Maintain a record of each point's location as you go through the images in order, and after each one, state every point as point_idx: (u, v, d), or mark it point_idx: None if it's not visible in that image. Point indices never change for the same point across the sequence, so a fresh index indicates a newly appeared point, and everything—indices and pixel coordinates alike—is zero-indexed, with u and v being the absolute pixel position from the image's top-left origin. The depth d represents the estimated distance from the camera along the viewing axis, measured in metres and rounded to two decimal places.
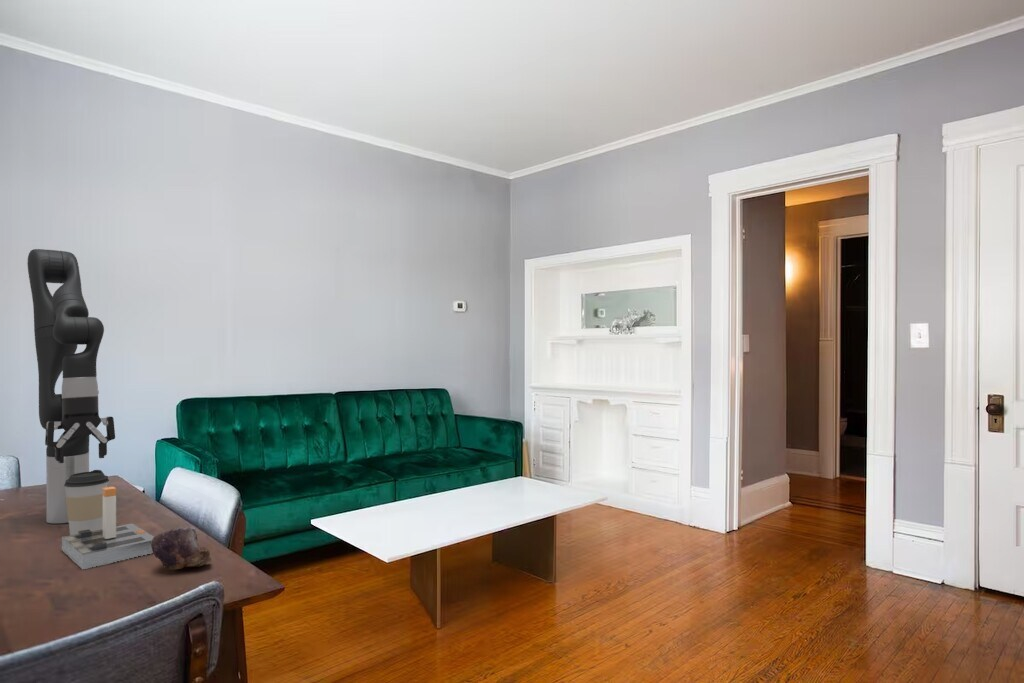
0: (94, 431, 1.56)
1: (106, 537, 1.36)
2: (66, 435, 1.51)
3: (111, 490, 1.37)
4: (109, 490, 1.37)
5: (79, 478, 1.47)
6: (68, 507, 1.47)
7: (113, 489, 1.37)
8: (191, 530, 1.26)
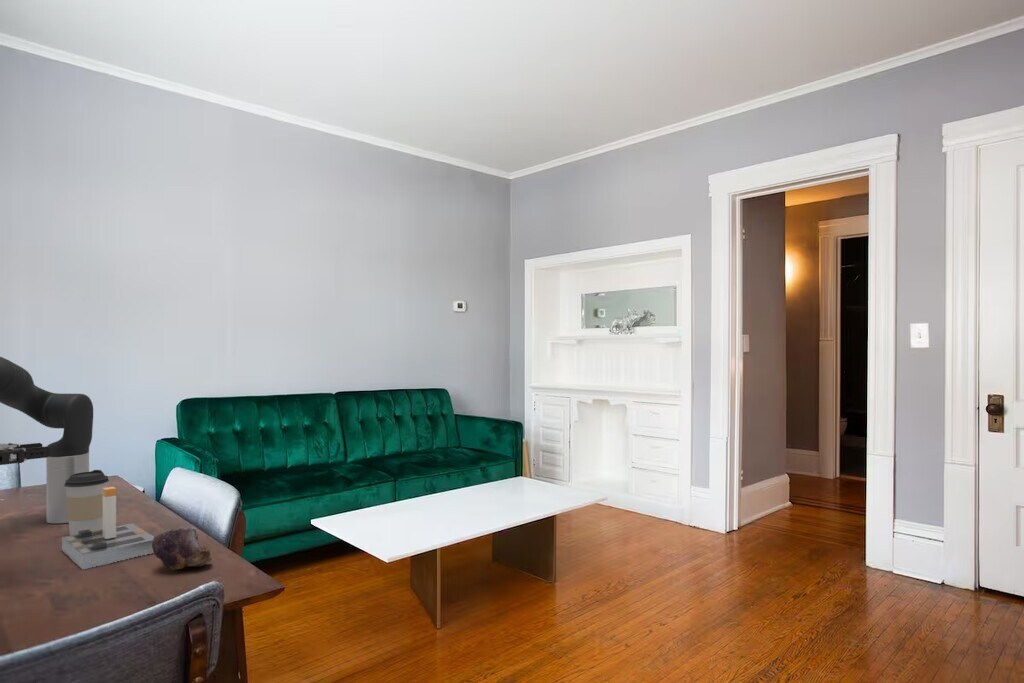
0: None
1: (106, 537, 1.36)
2: None
3: (111, 490, 1.37)
4: (109, 490, 1.37)
5: (79, 478, 1.47)
6: (68, 507, 1.47)
7: (113, 489, 1.37)
8: (192, 530, 1.26)
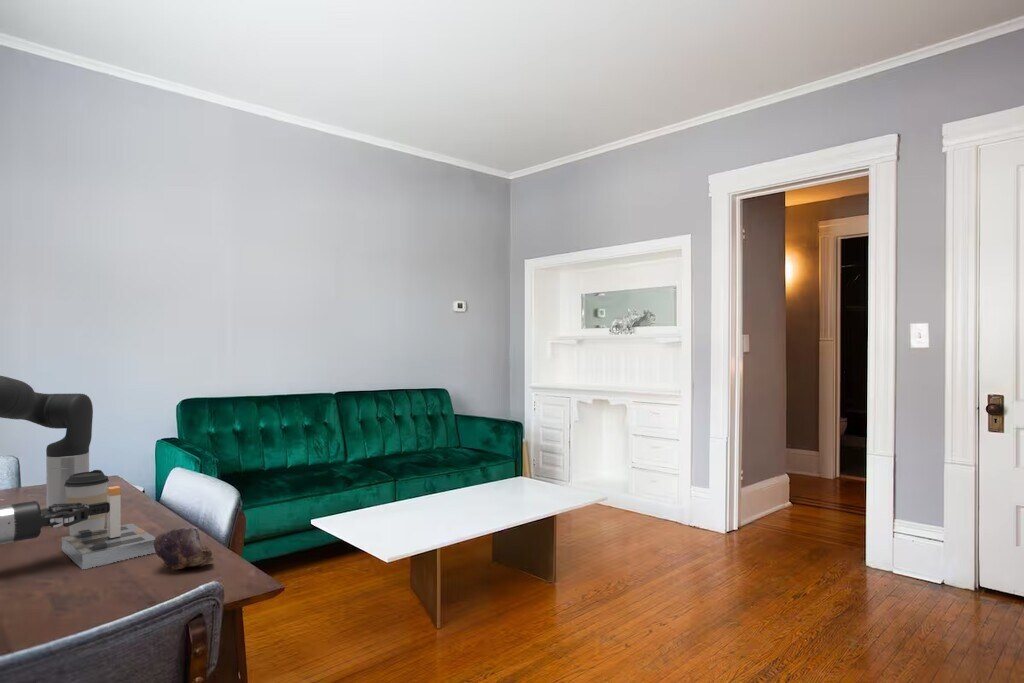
0: None
1: (111, 536, 1.37)
2: None
3: (115, 489, 1.38)
4: (114, 489, 1.37)
5: (79, 478, 1.47)
6: None
7: (117, 488, 1.38)
8: (193, 530, 1.26)
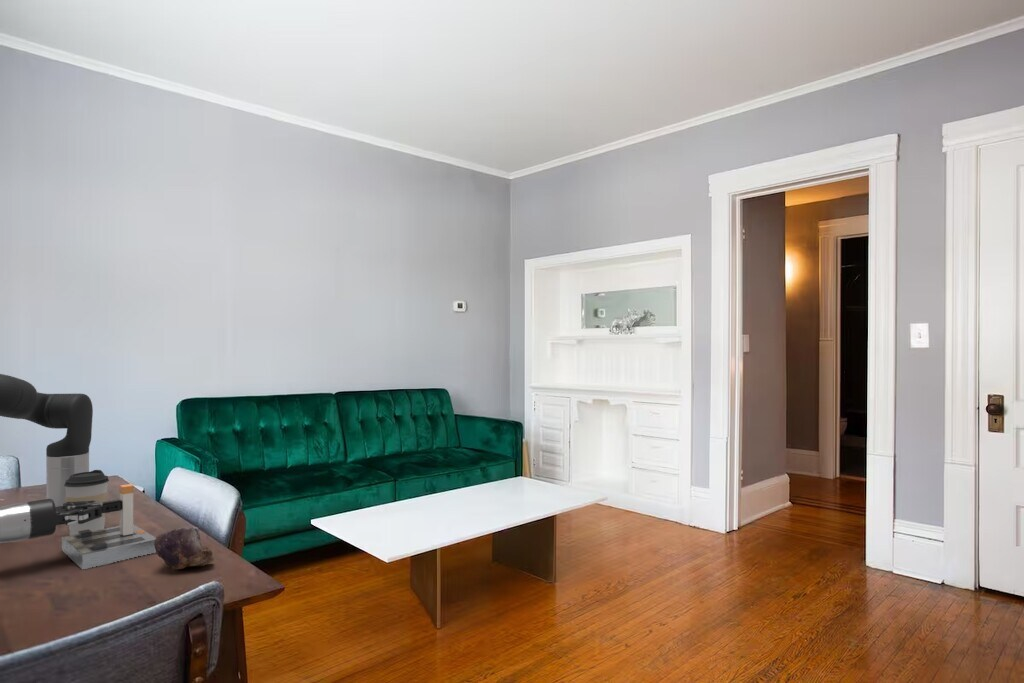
0: None
1: (123, 534, 1.39)
2: None
3: (128, 487, 1.39)
4: (126, 487, 1.39)
5: (79, 478, 1.47)
6: None
7: (130, 486, 1.40)
8: (194, 530, 1.26)
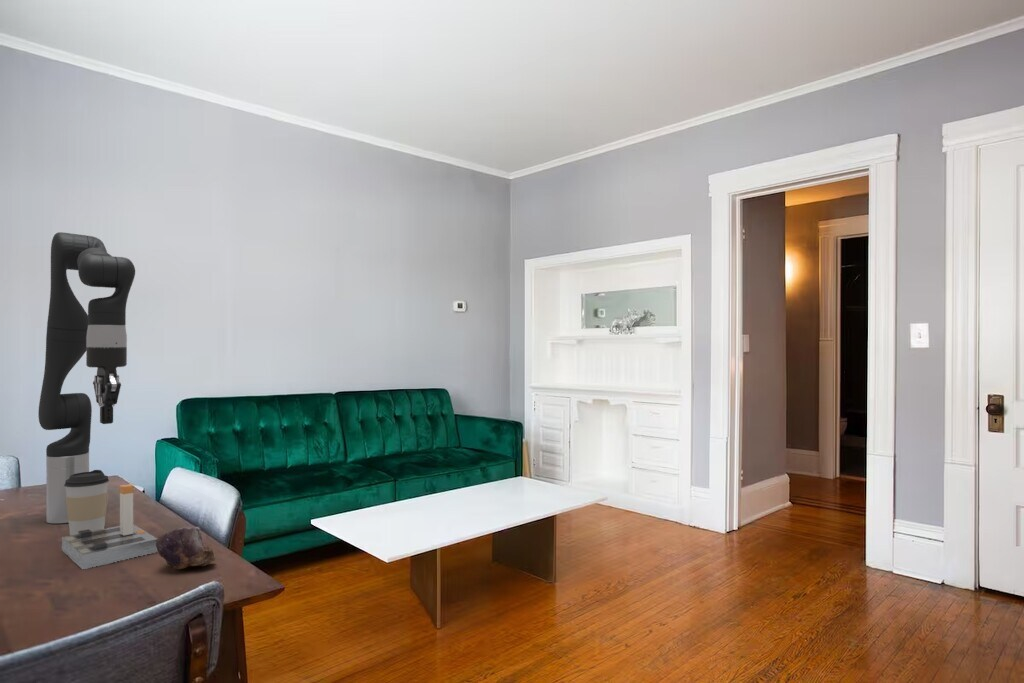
0: (98, 388, 1.36)
1: (123, 534, 1.39)
2: (96, 392, 1.37)
3: (128, 487, 1.39)
4: (126, 487, 1.39)
5: (79, 478, 1.47)
6: (68, 507, 1.47)
7: (130, 486, 1.40)
8: (195, 530, 1.26)
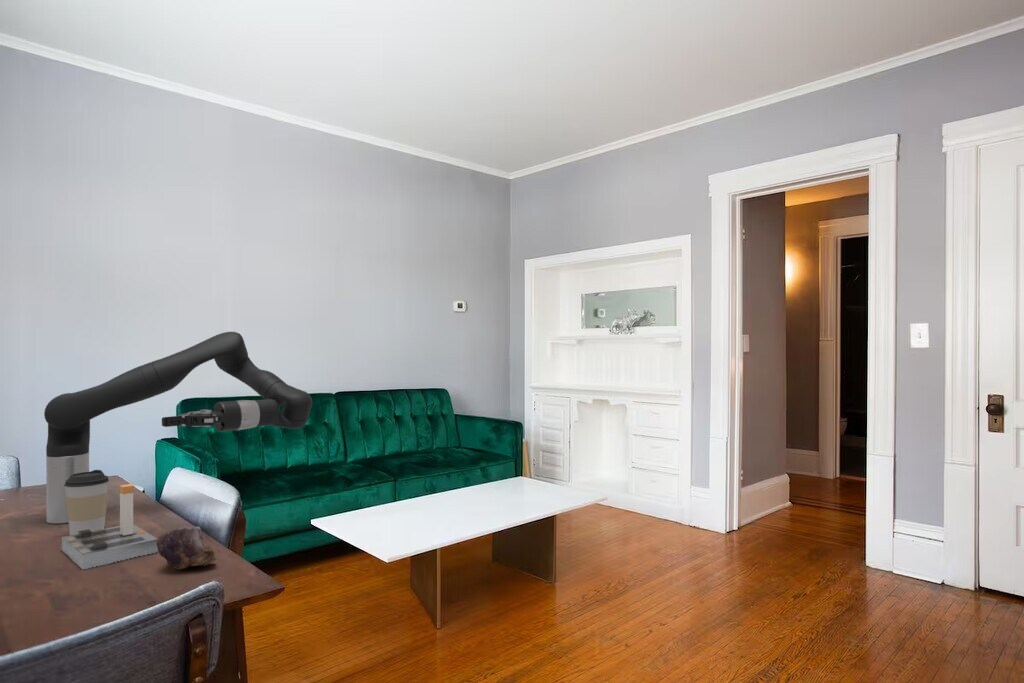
0: (198, 412, 1.51)
1: (123, 534, 1.39)
2: (192, 412, 1.52)
3: (128, 487, 1.39)
4: (126, 487, 1.39)
5: (79, 478, 1.47)
6: (68, 507, 1.47)
7: (130, 486, 1.40)
8: (196, 530, 1.26)
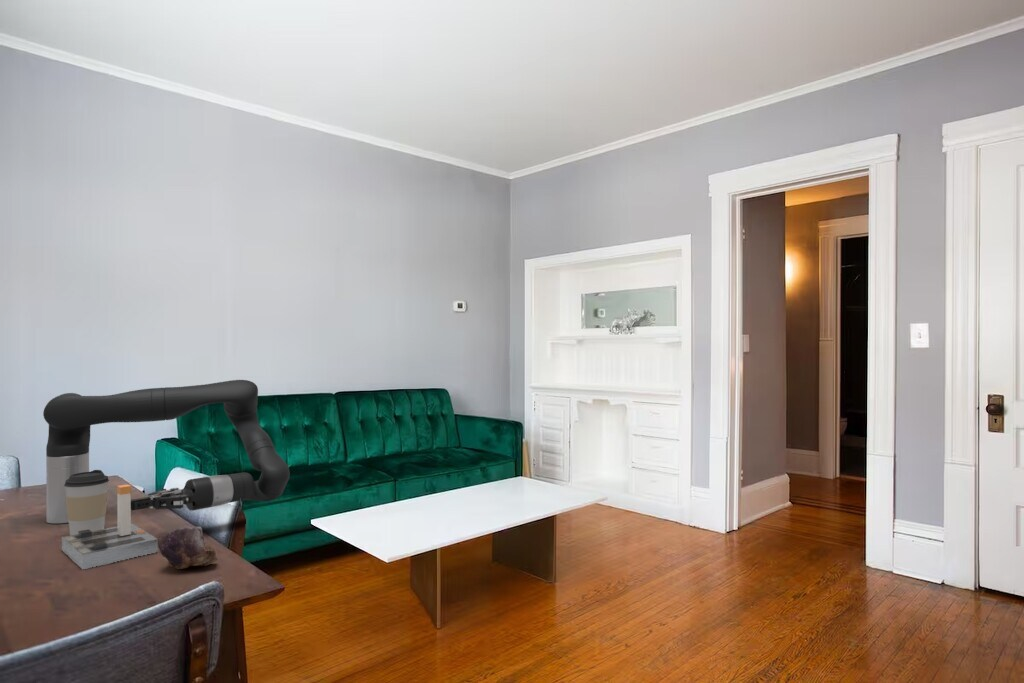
0: (168, 492, 1.45)
1: (121, 534, 1.38)
2: (161, 491, 1.46)
3: (126, 488, 1.39)
4: (124, 488, 1.39)
5: (79, 478, 1.47)
6: (68, 507, 1.47)
7: (128, 487, 1.39)
8: (197, 529, 1.26)
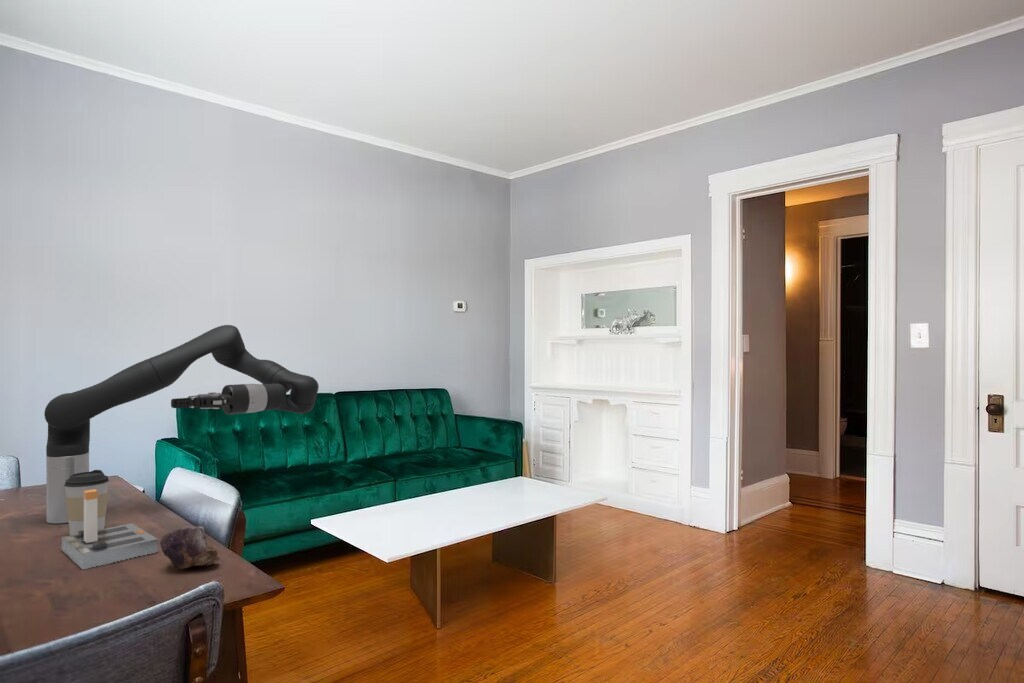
0: (207, 394, 1.52)
1: (87, 541, 1.34)
2: (200, 394, 1.53)
3: (92, 493, 1.34)
4: (90, 493, 1.34)
5: (79, 478, 1.47)
6: (68, 507, 1.47)
7: (94, 492, 1.35)
8: (199, 529, 1.26)
